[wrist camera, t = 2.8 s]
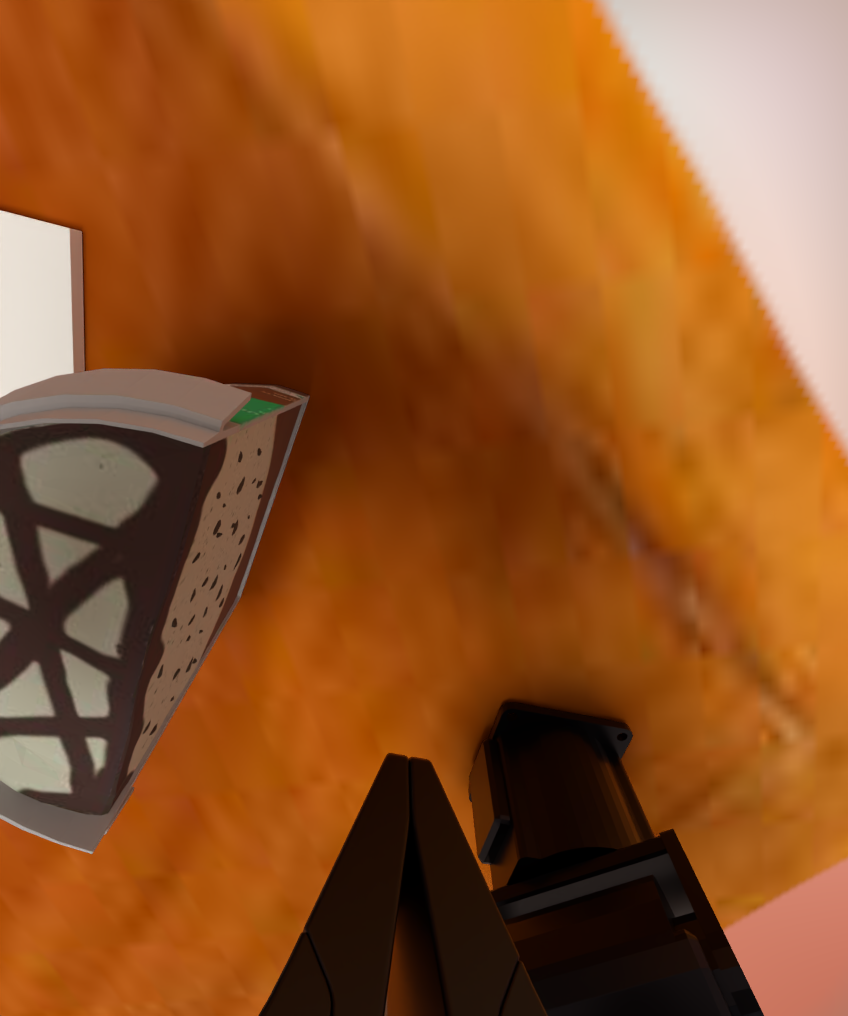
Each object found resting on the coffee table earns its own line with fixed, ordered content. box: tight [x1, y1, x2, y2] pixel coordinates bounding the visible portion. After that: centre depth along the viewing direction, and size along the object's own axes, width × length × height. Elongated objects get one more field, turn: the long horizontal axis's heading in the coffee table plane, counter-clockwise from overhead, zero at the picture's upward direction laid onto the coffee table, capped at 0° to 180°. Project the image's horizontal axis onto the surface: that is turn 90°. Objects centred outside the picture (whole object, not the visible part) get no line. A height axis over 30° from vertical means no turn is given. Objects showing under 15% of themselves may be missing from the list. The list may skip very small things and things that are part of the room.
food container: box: [0, 369, 310, 854], centre depth 14 cm, size 12×6×10 cm, turn 156°
